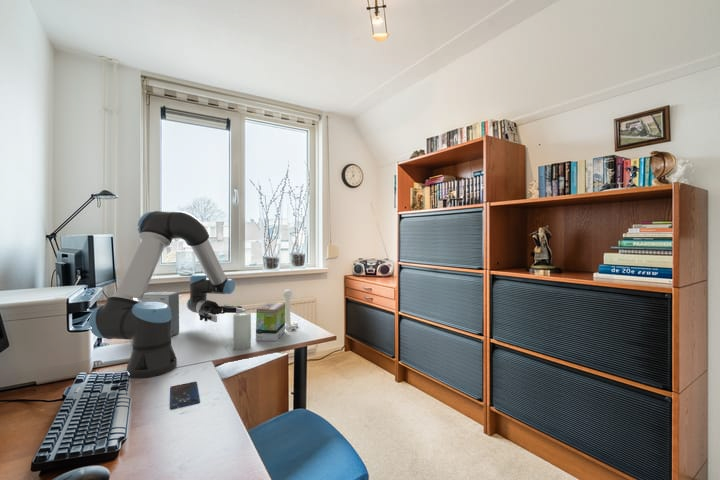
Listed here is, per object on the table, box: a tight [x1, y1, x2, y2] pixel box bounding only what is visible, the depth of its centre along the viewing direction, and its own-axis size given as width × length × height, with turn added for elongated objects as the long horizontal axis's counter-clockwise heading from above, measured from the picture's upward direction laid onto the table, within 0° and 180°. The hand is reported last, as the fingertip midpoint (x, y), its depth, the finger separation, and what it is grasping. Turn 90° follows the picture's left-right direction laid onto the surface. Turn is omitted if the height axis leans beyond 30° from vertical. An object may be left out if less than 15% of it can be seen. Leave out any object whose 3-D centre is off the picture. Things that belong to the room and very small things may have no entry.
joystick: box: [283, 289, 299, 331], centre depth 169 cm, size 11×8×20 cm
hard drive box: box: [141, 291, 180, 337], centre depth 155 cm, size 16×8×20 cm, turn 84°
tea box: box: [255, 302, 286, 342], centre depth 155 cm, size 15×10×15 cm
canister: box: [232, 312, 252, 351], centre depth 140 cm, size 7×7×14 cm
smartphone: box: [169, 381, 201, 410], centre depth 98 cm, size 8×1×15 cm
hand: (230, 315), depth 146 cm, fingers open, 13 cm apart
